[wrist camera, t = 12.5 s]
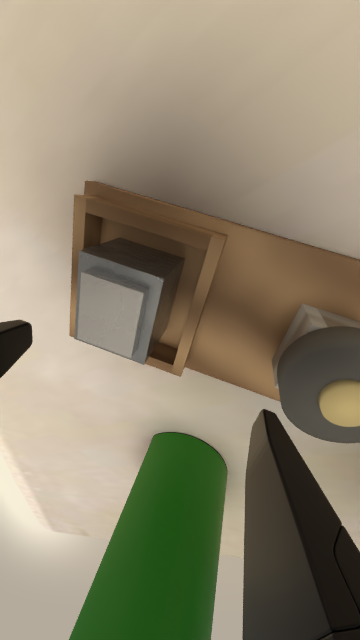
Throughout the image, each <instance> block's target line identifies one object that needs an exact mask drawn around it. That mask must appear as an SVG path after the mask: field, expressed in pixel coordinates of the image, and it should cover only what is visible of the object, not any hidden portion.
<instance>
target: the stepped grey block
mask: <svg viewBox="0 0 360 640" xmlns="http://www.w3.org/2000/svg"><path fill="white" fill-rule="evenodd" d="M184 261H185V258H182V257H179V256H176V255H173V254H170V253H167V252H164V251H161V250H157V249H154V248H151V247H148V246H145V245H142V244H139V243H136V242H133V241H130V240H126V239H123V238H120V237H119V238H116V239H113V240H110V241H107V242H104V243H101V244H98V245H95V246H92V247H89V248H86V249H83V250H79V261H78V280H77V299H76V319H75V338H74V339H77V340H79V341H82V342H85V343H87V344H90V345H93V346H95V347H98V348H101V349H103V350H106V351H109V352H111V353H114V354H117V355H119V356H122V357H125V358H127V359H130V360H133V361H136V362H138V363H141V364H145V363H146V361H147V359H148V358H149V356H150V355H151V353H152V351H153V350H154V348H155V347H156V345H157V343H158V342H159V340H160V339H161V337H162V336H163V334H164V332H165V331H166V329H167V326H168V322H169V318H170V314H171V310H172V307H173V303H174V299H175V295H176V291H177V288H178V284H179V280H180V276H181V272H182V269H183V265H184Z"/></svg>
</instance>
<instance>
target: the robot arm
mask: <svg viewBox="0 0 360 640" xmlns="http://www.w3.org/2000/svg"><path fill="white" fill-rule="evenodd" d="M31 344H32V326H31V324H30V323H28V322H26V321H23V320H14V321H7V322H1V323H0V378H1V377H2V376H3V375H4V374H5V373H6V372H7V371H8V370H9V369H10V368H11V367H12V366H13V364H14V363H15V362H16V361H17V360H18V359H19V358H20V357H21V356H22V355H23V354H24V353H25V352H26V351H27V350H28V348H29V347H30V346H31ZM341 525H342V523H341V521H340V519H339V517H338V516H337V514H336V513H335V511H334V509H333V508H332V506H331V504H330V503H329V501H328V499H327V498H326V496H325V494H324V493H323V491H322V490H321V488H320V486H319V485H318V483H317V481H316V480H315V478H314V476H313V475H312V473H311V471H310V470H309V468H308V467H307V465H306V463H305V462H304V460H303V458H302V457H301V455H300V453H299V452H298V450H297V448H296V447H295V445H294V444H293V442H292V440H291V439H290V437H289V435H288V434H287V432H286V430H285V429H284V427H283V425H282V424H281V422H280V421H279V419H278V417H277V416H276V414H275V413H273V412H271V411H268V410H265V409H263V410H261V412H260V413H259V415H258V417H257V419H256V421H255V422H254V424H253V427H252V431H251V438H250V446H249V453H248V461H247V469H246V482H245V535H244V592H243V640H360V551H359V550H358V548H357V547H356V545H355V544H354V542H353V540H352V539H351V537H350V535H349V534H348V532H347V530H346V529H345V527H344V526H341Z"/></svg>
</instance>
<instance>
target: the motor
mask: <svg viewBox="0 0 360 640" xmlns="http://www.w3.org/2000/svg"><path fill="white" fill-rule="evenodd" d="M226 481H227V468H226V465H225V462H224V461H223V459H222V457H221V456H220V455H219V454H218V453H217V452H216V451H215V450H214V449H213V448H212V447H210V446H209V445H208V444H206V443H204V442H203V441H201V440H199V439H197V438H194V437H192V436H189V435H185V434H180V433H160V434H157V435H154V436H153V439H152V441H151V444H150V446H149V449H148V451H147V453H146V456H145V458H144V461H143V463H142V465H141V468H140V470H139V473H138V475H137V477H136V480H135V482H134V485H133V487H132V489H131V492H130V494H129V497H128V499H127V501H126V504H125V506H124V509H123V511H122V513H121V516H120V518H119V521H118V523H117V525H116V528H115V530H114V533H113V535H112V537H111V540H110V542H109V545H108V547H107V549H106V552H105V554H104V557H103V559H102V561H101V564H100V566H99V569H98V571H97V573H96V576H95V578H94V581H93V583H92V586H91V588H90V590H89V593H88V595H87V598H86V600H85V603H84V605H83V607H82V610H81V612H80V614H79V617H78V620H77V622H76V624H75V627H74V629H73V631H72V634H71V636H70V639H69V640H211V632H212V621H213V612H214V601H215V592H216V582H217V572H218V560H219V552H220V542H221V532H222V521H223V511H224V501H225V491H226Z"/></svg>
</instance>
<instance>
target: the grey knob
mask: <svg viewBox="0 0 360 640" xmlns="http://www.w3.org/2000/svg"><path fill="white" fill-rule="evenodd" d="M277 380H278V387H279V394H280V401H281V405H282V409H283V411H284V413H285V415H286V416H287V418H288V419H289V420H290V421H291V422H292V423H293V424H294V425H295V426H296V427H297V428H299V429H300V430H302V431H303V432H305V433H307V434H309V435H311V436H313V437H316V438H319V439H322V440H326V441H331V442H338V443H359V442H360V328H356V327H349V326H334V327H326V328H321V329H318V330H314V331H312V332H309V333H307V334H305V335H303V336H301V337H299V338H298V339H296V340H295V341H294V342H293V343H291V344H290V345H289V346H288V347H287V348H286V350H285V351H284V352H283V354H282V355H281V357H280V360H279V362H278V366H277Z"/></svg>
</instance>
